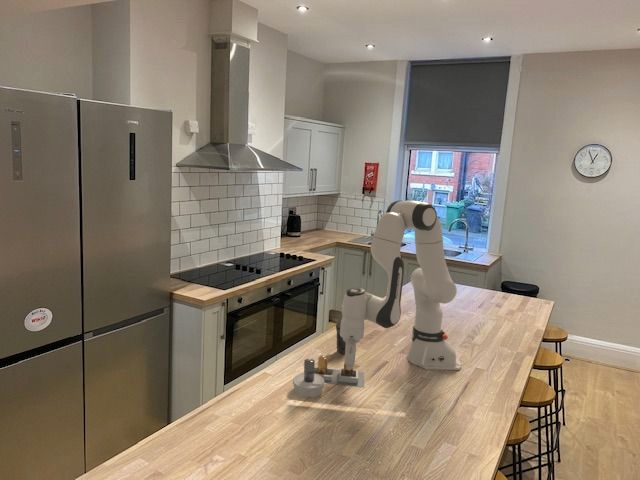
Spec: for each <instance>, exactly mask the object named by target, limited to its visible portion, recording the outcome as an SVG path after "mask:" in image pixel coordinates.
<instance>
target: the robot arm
mask: <svg viewBox="0 0 640 480" xmlns="http://www.w3.org/2000/svg"><path fill="white" fill-rule="evenodd" d="M406 230H414V244H415V255H416V256H415V257H416V260H417V263H418V264H419V266H420V267H418V268H415V269H414V271H412V273H411V274H410V283H411V285H412V289H413V294H414V295H413V296H414V302H415V303H414V304H415V315H414V324H413V327H412V330H411V331H412V332H411V343H410V347H409V350H408V353H407V355H406V360H408V362H409V363H410V364H411V363H412V364H413V365H416V366H419V367H420V368H422V369H423V370H426V371H430V370H432V371H433V370H435V371H459V370H460V369H461V368H462V362H461V361H460V359H459V358H458V357H457V353H456V350H455V348H454V346H452V344H451V343H449V342H448V338H449V336H448V334H447V333H446V331H444V330H443V329H442V323H443V310H442V309H443V308H441V304H449V303H451V302H452V301H453V300H454V299H455V298H456V296H457V291H458V289H457V286H456V284H455V282H454V281H453V280H452V277H451V274H450V272H449V268H448V265H447V261H446V257H445V251H444V250H445V249H444V239H443V230H442V226H441V222H440V219H439V217H438V214H437V211H436V208H435V206H433V205H432V204H431V203H428V202H425V201H417V200H396V201H392V202H391V203H390V204H389V205H388V206H387V209H386V212H385V213H383V214H382V215H381V217H380V219H379V220H378V222H377V224H376V227H375V231H374V233H373V237H372V239H371V240H372V241H371V244H370V253H371V257H372V258H373V259H374V261H375V262H376V263H377V264H378V265H380V266H381V268H383V269H384V270H385V272H386V274H387V277H388V281H387V288H386V296H385V298H383V297H380V296H378V295H374V294H372V293H369V292H368V291H366V289H364V288H362V287H352V288H349V289H347V290H346V291H345V294H344V297H343V300H342V301H343V302H342V308H341V316H342V317H341V318H342V320H341V327H340V336H341V337H342V338H343V341H345V342H346V346H345V354H344V359H345V361H344V360H343V364H344V363H345V365H346V370H351V366H353V367H354V366H355V363H356V356H357V355H356V354H357V353H356V352H357V344H359V342H360V340H363V339H364V334H365V321H366V320H367V321H369V322H372V323H374V324H377V325H378V326H380V327H382V328H384V329H390V328H392V327H394V326H396V325H397V324H398V323H399V322H400V320H401V314H402V313H401V312H402V310H401V309H402V307H401V302H402V301H401V300H402V290H403V283H404V275H405V274H404V271H405V264H404V259H402V257H401V247H402V244H403V238H404V234H405V232H406Z"/></svg>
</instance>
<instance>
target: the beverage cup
mask: <svg viewBox="0 0 640 480" xmlns="http://www.w3.org/2000/svg"><path fill="white" fill-rule="evenodd" d="M341 320H342V317H340V318H339V319H338V320H337V321H336V324H335V328H336V329H335V331H336V353H337V354H339V353H340V355H345V346H346V342H345V341H343V338H342V337H341V336H340V327H341Z"/></svg>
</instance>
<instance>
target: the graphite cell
mask: <svg viewBox="0 0 640 480" xmlns="http://www.w3.org/2000/svg"><path fill="white" fill-rule="evenodd" d="M303 364H304V365H303V373H304V381H306V382H313V381H314V366H316V365H315V359H312V358H306V359H304V363H303Z"/></svg>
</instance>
